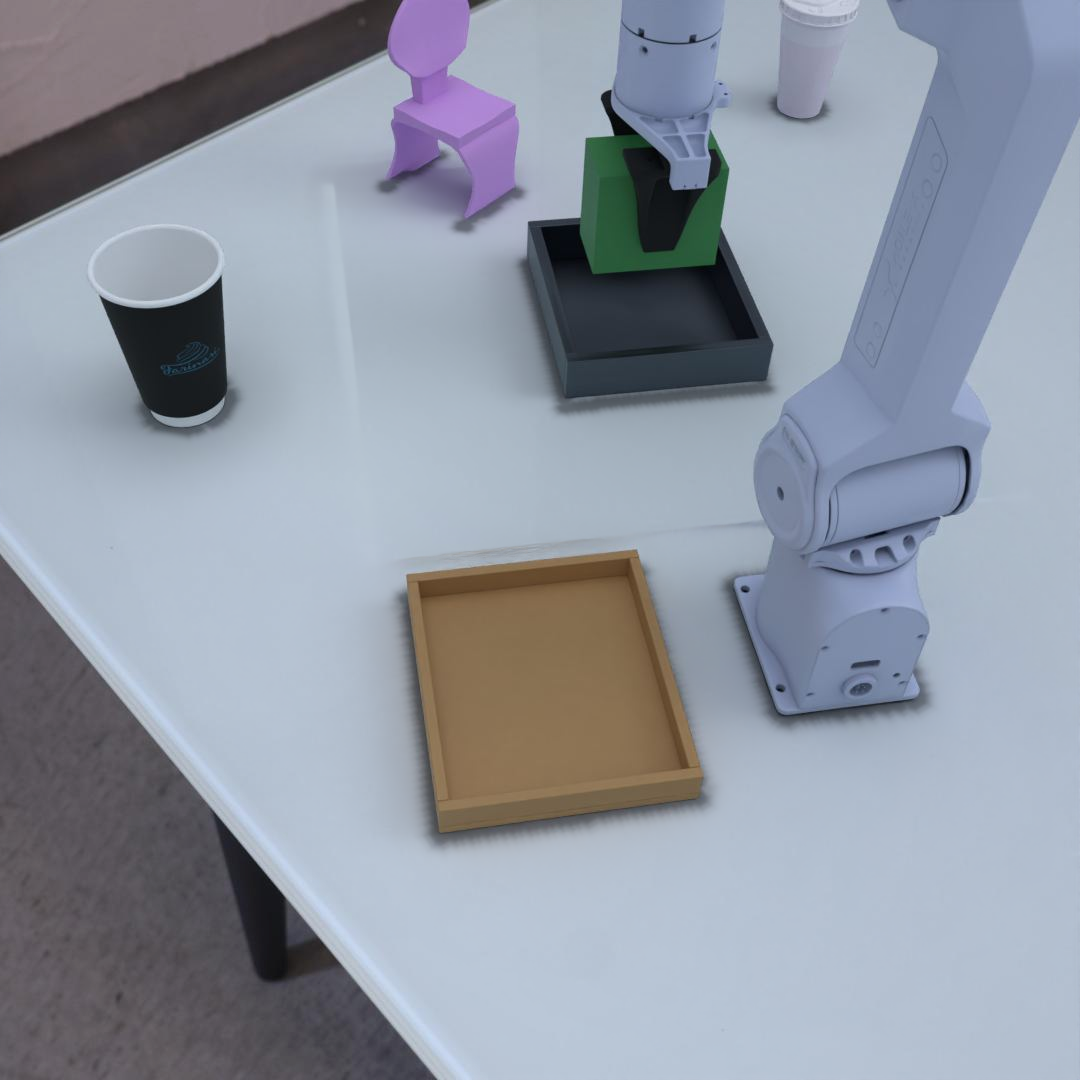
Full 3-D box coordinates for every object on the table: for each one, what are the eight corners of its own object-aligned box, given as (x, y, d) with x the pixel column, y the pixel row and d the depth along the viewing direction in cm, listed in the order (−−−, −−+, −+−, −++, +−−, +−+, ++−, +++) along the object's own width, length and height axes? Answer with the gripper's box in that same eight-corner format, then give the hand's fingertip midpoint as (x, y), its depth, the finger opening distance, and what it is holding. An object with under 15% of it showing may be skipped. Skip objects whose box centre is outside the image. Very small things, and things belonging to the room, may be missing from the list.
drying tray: (698, 798, 66) (703, 776, 65) (439, 833, 65) (438, 811, 63) (634, 572, 76) (637, 548, 75) (407, 598, 75) (406, 573, 73)
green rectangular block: (714, 264, 84) (729, 168, 79) (592, 274, 83) (599, 177, 78) (697, 224, 87) (711, 129, 82) (579, 233, 86) (585, 137, 81)
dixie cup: (165, 350, 88) (132, 210, 80) (271, 379, 87) (248, 239, 78) (100, 425, 83) (58, 284, 75) (211, 457, 82) (180, 317, 73)
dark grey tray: (764, 388, 88) (774, 344, 85) (564, 407, 86) (567, 362, 83) (706, 251, 98) (712, 207, 95) (526, 264, 96) (527, 220, 93)
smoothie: (749, 93, 114) (776, -71, 103) (816, 83, 115) (849, -79, 105) (780, 131, 109) (811, -36, 99) (849, 121, 111) (886, -44, 100)
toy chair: (459, 236, 98) (456, 46, 87) (373, 191, 102) (360, 3, 90) (529, 189, 103) (535, 2, 91) (445, 148, 106) (441, -36, 95)
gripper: (777, 80, 69) (740, 289, 79) (708, -41, 79) (682, 159, 89) (647, 88, 68) (626, 298, 78) (593, -36, 78) (580, 166, 88)
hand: (649, 225), depth 84 cm, fingers closed on green rectangular block, 4 cm apart
